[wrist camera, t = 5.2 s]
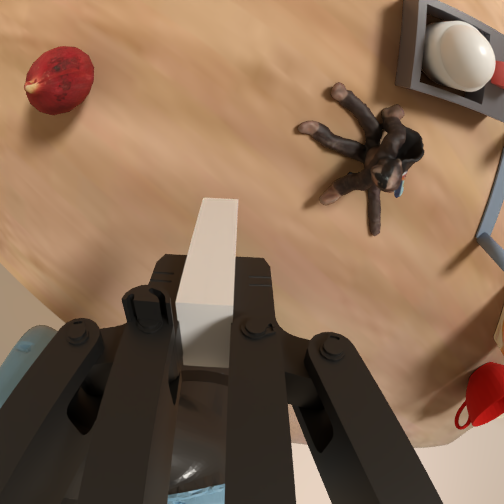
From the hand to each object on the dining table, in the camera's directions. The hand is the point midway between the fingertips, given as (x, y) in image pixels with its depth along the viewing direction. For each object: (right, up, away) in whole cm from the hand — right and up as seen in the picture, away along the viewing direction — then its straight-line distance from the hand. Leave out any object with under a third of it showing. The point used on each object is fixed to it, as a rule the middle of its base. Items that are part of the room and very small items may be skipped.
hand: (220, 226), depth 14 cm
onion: (-14, +15, +8) cm, 22 cm away
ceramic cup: (+49, -28, +37) cm, 67 cm away
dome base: (+20, +17, +7) cm, 28 cm away
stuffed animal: (+12, +8, +14) cm, 20 cm away
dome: (+19, +17, +6) cm, 26 cm away
